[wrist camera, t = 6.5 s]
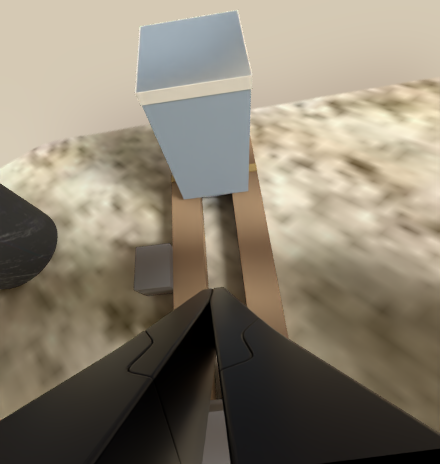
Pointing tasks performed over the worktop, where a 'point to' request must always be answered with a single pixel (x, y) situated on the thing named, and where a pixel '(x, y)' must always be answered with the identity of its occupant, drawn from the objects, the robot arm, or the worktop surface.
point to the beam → (196, 278)
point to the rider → (198, 100)
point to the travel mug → (23, 239)
